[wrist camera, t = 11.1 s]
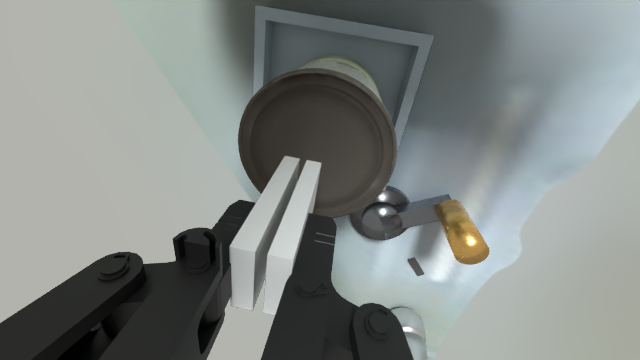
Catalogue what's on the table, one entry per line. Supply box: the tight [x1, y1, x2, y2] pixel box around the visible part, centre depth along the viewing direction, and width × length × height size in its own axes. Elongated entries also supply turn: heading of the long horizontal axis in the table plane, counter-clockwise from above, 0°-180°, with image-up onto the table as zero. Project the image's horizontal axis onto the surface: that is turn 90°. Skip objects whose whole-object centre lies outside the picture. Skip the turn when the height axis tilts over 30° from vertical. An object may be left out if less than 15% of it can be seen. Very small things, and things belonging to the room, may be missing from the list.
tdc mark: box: [408, 258, 424, 276], centre depth 40 cm, size 4×1×1 cm, turn 33°
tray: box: [253, 5, 434, 190], centre depth 28 cm, size 16×16×3 cm
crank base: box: [350, 186, 410, 239], centre depth 35 cm, size 8×8×1 cm
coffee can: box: [238, 55, 397, 218], centre depth 23 cm, size 10×10×14 cm
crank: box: [362, 194, 489, 265], centre depth 30 cm, size 12×5×8 cm, turn 112°
